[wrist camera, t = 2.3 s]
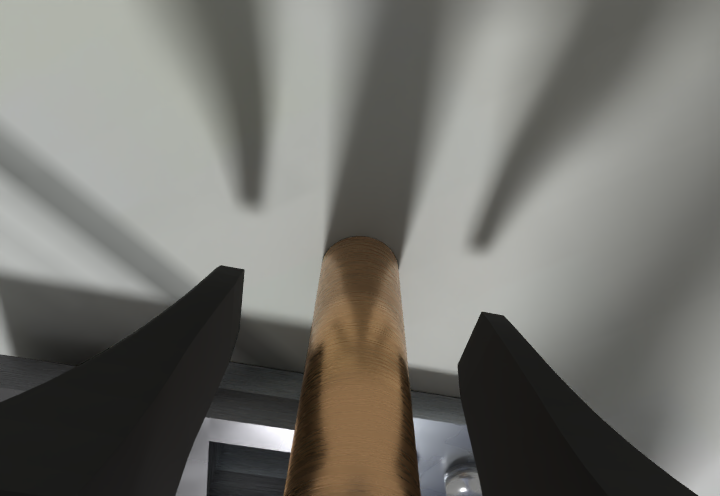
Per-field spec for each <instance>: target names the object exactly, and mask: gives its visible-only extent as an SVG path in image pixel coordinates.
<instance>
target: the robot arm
mask: <svg viewBox="0 0 720 496" xmlns="http://www.w3.org/2000/svg"><path fill="white" fill-rule="evenodd" d="M243 282H244V269H238V268H233V267H227V266H219V267H217V268H216V269H215V270H214V271H212V272H211V273H210V274H209V275H208V276H207V277H206V278H205V279H203V280H202V281H201V282H200V283H199V284H198V285H197V286H195V287H194V288H193V289H192V290H191V291H189V292H188V293H187V294H186V295H185V296H183V297H182V298H181V299H179V300H178V301H177V302H176V303H174V304H173V305H172V306H171V307H169V308H168V309H167V310H165V311H164V312H163V313H161V314H160V315H159V316H157V317H156V318H154V319H153V320H152V321H150V322H149V323H147V324H146V325H145V326H143V327H142V328H140V329H139V330H137V331H136V332H135V333H133V334H132V335H130V336H128V337H127V338H125V339H124V340H122V341H121V342H119V343H117V344H116V345H114V346H113V347H111V348H109V349H107V350H106V351H104V352H102V353H101V354H99V355H97V356H96V357H94V358H92V359H90V360H88V361H86V362H85V363H83V364H81V365H79V366H77V367H75V368H73V369H71V370H69V371H67V372H65V373H63V374H61V375H59V376H57V377H55V378H53V379H51V380H49V381H47V382H45V383H43V384H41V385H39V386H36V387H34V388H32V389H30V390H27V391H25V392H23V393H21V394H18V395H16V396H14V397H11V398H9V399H7V400H4V401H2V402H0V496H175V495H176V492H177V489H178V486H179V483H180V480H181V477H182V474H183V471H184V468H185V465H186V462H187V459H188V457H189V454H190V452H191V449H192V447H193V444H194V442H195V439H196V437H197V435H198V432H199V430H200V428H201V426H202V423H203V421H204V419H205V417H206V414H207V412H208V410H209V408H210V405H211V403H212V401H213V399H214V396H215V394H216V392H217V390H218V387H219V385H220V383H221V380H222V378H223V376H224V374H225V371H226V369H227V367H228V364H229V362H230V358H231V355H232V352H233V349H234V346H235V342H236V339H237V336H238V332H239V329H240V317H241V305H242V294H243ZM458 376H459V387H460V397H461V403H462V408H463V412H464V416H465V421H466V425H467V430H468V434H469V438H470V442H471V447H472V451H473V455H474V459H475V464H476V468H477V472H478V476H479V481H480V486H481V491H482V496H698V495H696V494H695V493H694V492H692V491H691V490H690V489H688V488H687V487H685V486H684V485H683V484H681V483H680V482H678V481H677V480H676V479H674V478H673V477H672V476H670V475H669V474H668V473H666V472H665V471H664V470H663V469H661V468H660V467H659V466H657V465H656V464H655V463H654V462H652V461H651V460H650V459H648V458H647V457H646V456H645V455H643V454H642V453H641V452H640V451H638V450H637V449H636V448H635V447H633V446H632V445H631V444H630V443H629V442H627V441H626V440H625V439H624V438H623V437H622V436H621V435H619V434H618V433H617V432H616V431H615V430H614V429H613V428H611V427H610V426H609V425H608V424H607V423H606V422H605V421H603V420H602V419H601V418H600V417H599V416H598V415H597V414H596V413H595V412H594V411H593V410H592V409H591V408H590V407H589V406H588V405H587V404H586V403H585V402H584V401H583V400H582V399H581V398H580V397H578V396H577V395H576V394H575V393H574V392H573V391H572V390H571V389H570V387H569V386H568V385H567V384H566V383H565V382H564V381H563V380H562V379H561V378H560V377H559V376H558V375H557V374H556V373H555V372H554V371H553V370H552V368H551V367H550V366H549V365H548V364H547V363H546V362H545V361H544V360H543V359H542V357H541V356H540V355H539V354H538V353H537V352H536V351H535V350H534V348H533V347H532V346H531V345H530V344H529V343H528V342H527V341H526V339H525V338H524V337H523V336H522V335H521V334H520V333H519V332H518V330H517V329H516V328H515V327H514V326H513V325H512V324H511V323H510V322H509V321H508V320H507V319H506V318H505V317H504V316H503V315H498V314H492V313H486V312H481V314H480V317H479V319H478V321H477V323H476V325H475V328H474V330H473V332H472V334H471V337H470V339H469V341H468V343H467V345H466V348H465V350H464V352H463V354H462V356H461V359H460V361H459V363H458Z"/></svg>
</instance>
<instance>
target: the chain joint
mask: <svg viewBox="0 0 720 496" xmlns="http://www.w3.org/2000/svg"><path fill="white" fill-rule="evenodd" d="M75 367H77V366H72V365H66V364H59V363H53V362H46V361H40V360H33V359H26V358H20V357H13V356H7V355H0V402H2V401H4V400H7V399H9V398H11V397H14V396H16V395H18V394H21V393H23V392H25V391H27V390H30V389H32V388H34V387H36V386H39V385H41V384H43V383H45V382H47V381H49V380H51V379H53V378H55V377H57V376H59V375H61V374H63V373H65V372H67V371H69V370H71V369H73V368H75ZM303 376H304V374H302V373H296V372H289V371H283V370H277V369H270V368H264V367H258V366H251V365H245V364H239V363H233V362H229V364H228V367H227V369H226V371H225V374H224V376H223V378H222V380H221V383H220V385H219V387H218V390H217V392H216V394H215V396H214V399H213V401H212V403H211V405H210V408H209V410H208V412H207V414H206V417H205V419H204V421H203V423H202V426H201V428H200V430H199V432H198V435H197V437H196V439H195V442H194V444H193V447H192V449H191V452H190V454H189V457H188V459H187V462H186V465H185V468H184V471H183V474H182V477H181V480H180V483H179V486H178V489H177V492H176V495H175V496H284V490H285V484H286V478H287V472H288V466H289V460H290V454H291V448H292V442H293V436H294V430H295V424H296V418H297V412H298V406H299V400H300V394H301V388H302V382H303ZM410 392H411V402H412V412H413V421H414V431H415V441H416V451H417V461H418V471H419V481H420V491H421V496H482V491H481V486H480V481H479V476H478V472H477V468H476V464H475V459H474V455H473V451H472V447H471V442H470V438H469V434H468V430H467V425H466V421H465V416H464V412H463V408H462V403H461V399H460V398H454V397H448V396H441V395H435V394H429V393H422V392H416V391H410Z"/></svg>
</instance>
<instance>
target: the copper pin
mask: <svg viewBox="0 0 720 496" xmlns="http://www.w3.org/2000/svg"><path fill="white" fill-rule="evenodd" d="M284 496H421V491H420V481H419V471H418V461H417V451H416V441H415V431H414V421H413V412H412V402H411V392H410V382H409V372H408V362H407V352H406V342H405V332H404V322H403V312H402V302H401V292H400V282H399V272H398V263H397V259H396V257H395V255H394V253H393V252H392V251H391V249H390V248H389V247H388V246H386V245H385V244H384V243H382V242H380V241H378V240H376V239H373V238H370V237H363V236H356V237H349V238H346V239H343V240H341V241H339V242H337V243H336V244H334V245H333V246H332V247H331V248H330V249H329V250H328V251H327V253H326V254H325V256H324V258H323V262H322V267H321V273H320V279H319V285H318V291H317V297H316V303H315V310H314V316H313V322H312V328H311V334H310V340H309V346H308V352H307V358H306V364H305V370H304V376H303V382H302V388H301V394H300V400H299V406H298V412H297V418H296V424H295V430H294V436H293V442H292V448H291V454H290V460H289V466H288V472H287V478H286V484H285V490H284Z"/></svg>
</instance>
